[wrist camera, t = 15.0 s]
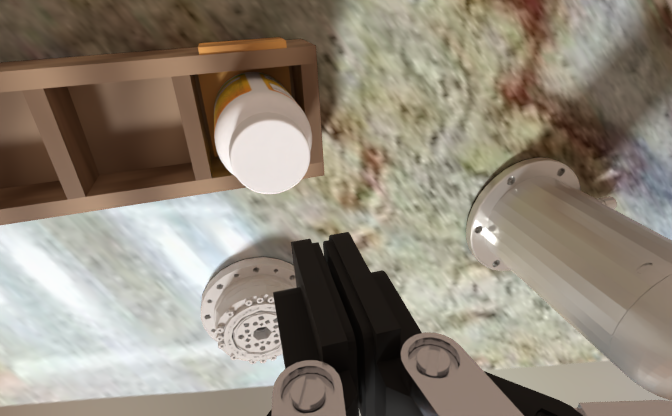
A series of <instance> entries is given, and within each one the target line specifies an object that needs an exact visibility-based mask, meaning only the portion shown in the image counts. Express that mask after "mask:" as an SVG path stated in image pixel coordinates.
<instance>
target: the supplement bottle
mask: <svg viewBox="0 0 672 416" xmlns="http://www.w3.org/2000/svg"><path fill="white" fill-rule="evenodd" d="M214 139H215V146H216V150H217V153H218V155H219V158H220V160H221V161H222V163H223V164H224V166H225V167H226V168H227V170H228V171H229V172H230V173H232V174H233V175H234V176H236V177H237V179H238V180H239V181H240V182H241V183H242V184H243V185H244V186H246V187H247V188H249V189H250V190H253V191H255V192H258V193H262V194H277V193H281V192H284V191H286V190H289V189H291V188H292V187H294V186H295V185H296V184H297V183H299V182H300V180H301V179H302V178H303V177H304V175H305V174H306V172H307V170H308V167H309V163H310V151H311V146H312V132H311V127H310V124H309V121H308V119H307V117H306V115H305V113H304V112H303V110H302V109H301V107H300V106H299V105H298V104H297V102H296V101H295V100H294V99H293V97H292V96H291V95H290V94H289V92H288V91H287V90H286V89H285V87H284V86H283V85H282V84H281V83H279V82H278V81H277V80H276V79H274V78H273V77H271V76H269V75H266V74H263V73H259V72H245V73H241V74H238V75H236V76H234V77H232V78H231V79H229V80H228V81H227V82H226V83H225V84H224V85H223V86H222V87H221V88H220V90H219V92H218V94H217V96H216V99H215V104H214Z"/></svg>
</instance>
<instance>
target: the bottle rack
mask: <svg viewBox="0 0 672 416" xmlns="http://www.w3.org/2000/svg"><path fill="white" fill-rule="evenodd" d="M245 72H259V73H263V74H266V75H269V76H271V77H273V78H274V79H276V80H277V81H278V82H279V83H281V84H282V85H283V86H284V87H285V89H286V90H287V91H288V92H289V94H290V95H291V96H292V97H293V99H294V100H295V101H296V102H297V104H298V105H299V106H300V107H301V109H302V110H303V112H304V113H305V115H306V117H307V119H308V121H309V124H310V127H311V132H312V146H311V151H310V163H309V167H308V170H307V172H306V174H305V175H304V177H303V178H310V177H316V176H323V175H324V162H323V147H322V132H321V116H320V101H319V86H318V71H317V56H316V46H315V45H313V44H311V43H309V42H307V41H305V40H303V39H294V40H284V39H282V38H281V37H275V38H262V39H249V40H236V41H222V42H209V43H199V46H198V47H192V48H179V49H166V50H153V51H141V52H128V53H115V54H102V55H90V56H77V57H64V58H51V59H39V60H26V61H13V62H1V63H0V225H5V224H12V223H18V222H25V221H31V220H38V219H44V218H51V217H57V216H64V215H70V214H76V213H83V212H89V211H96V210H102V209H109V208H115V207H122V206H128V205H135V204H141V203H148V202H154V201H161V200H167V199H174V198H180V197H187V196H193V195H200V194H206V193H213V192H219V191H226V190H232V189H239V188H245V187H246V186H244V185H243V184H242V183H241V182H240V181H239V180H238V179H237V177H236V176H234V175H233V174H232V173H230V172H229V171H228V170H227V168H226V167H225V166H224V164H223V163H222V161H221V160H220V158H219V155H218V153H217V150H216V146H215V139H214V104H215V99H216V96H217V94H218V92H219V90H220V88H221V87H222V86H223V85H224V84H225V83H226V82H227V81H228V80H229V79H231V78H232V77H234V76H236V75H238V74H241V73H245ZM303 178H302V179H303Z"/></svg>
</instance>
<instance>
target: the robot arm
mask: <svg viewBox="0 0 672 416" xmlns="http://www.w3.org/2000/svg"><path fill="white" fill-rule="evenodd" d="M616 206H617V202H616V200H615V199H614V198H613V197H610V196H609V197H604V198H599V199H596V198H594V197H592V196H590V195H588V194H586V193H584V192H582V191H581V188H580V184H579V180H578V178H577V176H576V174H575V173H574V171H573V170H572V169H570V168H569V167H568V166H567V165H565V164H563V163H561V162H559V161H557V160H554V159H550V158H540V157H538V158H532V159H527V160H524V161H521V162H518V163H516V164H514V165H512V166H511V167H509V168H507V169H505V170H504V171H503V172H501V173H500V174H499V175H497V176H496V177H495V178H494V179H493V180H492V181H491V182H490V183H489V184H488V185H487V186H486V187H485V188H484V189H483V191H482V192H481V193H480V195H479V196H478V198H477V199H476V201H475V203H474V205H473V207H472V209H471V212H470V214H469V217H468V221H467V227H466V240H467V243H468V247H469V249H470V251H471V253H472V254H473V255H474V257H475V258H476V259H477V260H478V261H479V262H480V263H482V264H483V265H484V266H486V267H488V268H490V269H493V270H500V271H508V270H512V271H513V272H514V273H515V274H516V275H517V276H518V277H519V278H520V279H522V280H523V281H524V282H525V283H526V284H527V285H528V286H529V287H530V288H531V289H532V290H534V291H535V292H536V293H537V294H538V295H539V296H540V297H541V298H542V299H543V300H545V301H546V302H547V303H548V304H549V305H550V306H551V307H552V308H553V309H554V310H555V311H557V312H558V313H559V314H560V315H561V316H562V317H563V318H564V319H565V320H566V321H567V322H569V323H570V324H571V325H572V326H573V327H574V328H575V329H576V330H577V331H578V332H579V333H581V334H582V335H583V336H584V337H585V338H586V339H587V340H588V341H589V342H590V343H591V344H593V345H594V346H595V347H596V348H597V349H598V350H599V351H600V352H601V353H602V354H603V355H605V356H606V357H607V358H608V359H609V360H610V361H611V362H612V363H613V364H614V365H615V366H617V367H618V368H619V369H620V370H621V371H622V372H623V373H624V374H625V375H626V376H627V377H629V378H630V379H631V380H632V381H634V382H635V383H637V384H638V385H640V386H641V387H643V388H644V389H646V390H647V391H649V392H651V393H654V394H655V395H657V396H660V397H663V398H666V399H668V400H672V240H670V239H668V238H666V237H664V236H662V235H660V234H658V233H657V232H655V231H653V230H651V229H649V228H647V227H645V226H643V225H642V224H640V223H638V222H636V221H634V220H632V219H630V218H628V217H626V216H625V215H623V214H621V213H619V212H617V211H615V210H613V209H615V208H616ZM291 246H292V254H293V263H294V271H295V279H296V287H297V288H292V289H287V290H282V291H276V292H273V297H274V303H275V309H276V315H277V322H278V328H279V334H280V340H281V346H282V352H283V358H284V364H285V370H284V371H283V372H282V373H281V374H280V375H279V377H278V378H277V380H276V382H275V384H274V388H273V396H272V410H271V411H270V412H269V413H268V415H267V416H359V410H360V413H361V416H672V401H663V400H649V401H619V402H590V403H579V405H578V407H577V408H573V407H571V406H570V405H568V404H566V403H563V402H562V401H560V400H557V399H554V398H552V397H549V396H547V395H544V394H541V393H539V392H536V391H534V390H531V389H528V388H526V387H523V386H521V385H518V384H515V383H513V382H510V381H507V380H505V379H503V378H500V377H497V376H495V375H492V374H490V373H487V372H485V371H483V370H482V369H481V368H480V367H479V366H478V365H477V364H476V362H475V361H474V360H473V359H472V358H471V357H470V356H469V355H468V354H467V353H466V352H465V350H464V349H463V348H462V347H461V346H460V345H459V344H457V343H456V342H455V341H454V340H453V339H451V338H449V337H447V336H445V335H441V334H437V333H422V332H421V331H420V329H419V327H418V326H417V324H416V322H415V321H414V319H413V317H412V316H411V314H410V312H409V311H408V309H407V307H406V306H405V304H404V302H403V301H402V299H401V297H400V296H399V294H398V292H397V291H396V289H395V287H394V286H393V284H392V282H391V281H390V279H389V277H388V276H387V274H386V273H385V272H384V271H377V272H372V273H371V272H370V270H369V269H368V267H367V265H366V263H365V261H364V259H363V258H362V256H361V254H360V252H359V250H358V248H357V246H356V245H355V243H354V241H353V239H352V237H351V235H350V234H349V232H346V233H340V234H334V235H330V236H329V241H324V242H323V248H324V255H323V253H322V250H321V248H320V245H319V243H312V242H311V239H306V240H300V241H295V242H291Z"/></svg>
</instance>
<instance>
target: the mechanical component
mask: <svg viewBox="0 0 672 416" xmlns="http://www.w3.org/2000/svg"><path fill="white" fill-rule="evenodd" d="M292 288H297V287H296V279H295V271H294V266H293V265H291V264H290V263H287V262H285V261H282V260H280V259H274V258H267V257H259V258H252V259H245V260H242V261H239V262H236V263H233V264H231V265H230V266H228V267H226V268H224V269H223V270H221V271H220V272H219V273H218V274H217V275H216V276H215V277H214V278H213V279H212V280H211V281H210V282H209V283H208V285H207V287H206V289H205V291H204V292H203V294H202V303H201V320H202V323H203V326H204V328H205V330H206V331H207V332H208V334H209V335H210V336H211V337H212V338H213V339H214V340H216V341H217V342H218V347H219V348H220V349H222V350H223V351H224V352H225V353H226V354H228V355H229V356H230V357H231V359H232V360H236V359H239V360H243V361H250V363H251V364H255V363H256V361H260V363H265V362H266V360H267V359H271V360H275V359H276V356H279V355H281V354H282V353H283V352H282V346H281V340H280V334H279V328H278V322H277V315H276V309H275V303H274V297H273V292H276V291H282V290H287V289H292Z"/></svg>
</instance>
